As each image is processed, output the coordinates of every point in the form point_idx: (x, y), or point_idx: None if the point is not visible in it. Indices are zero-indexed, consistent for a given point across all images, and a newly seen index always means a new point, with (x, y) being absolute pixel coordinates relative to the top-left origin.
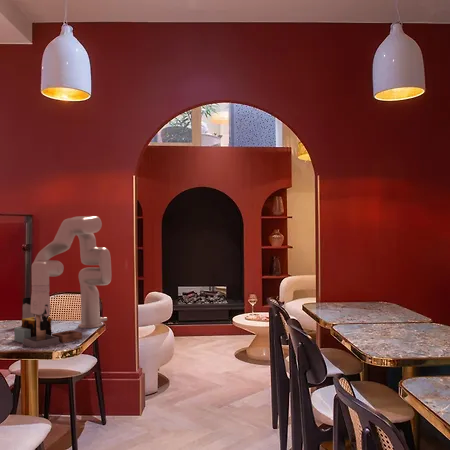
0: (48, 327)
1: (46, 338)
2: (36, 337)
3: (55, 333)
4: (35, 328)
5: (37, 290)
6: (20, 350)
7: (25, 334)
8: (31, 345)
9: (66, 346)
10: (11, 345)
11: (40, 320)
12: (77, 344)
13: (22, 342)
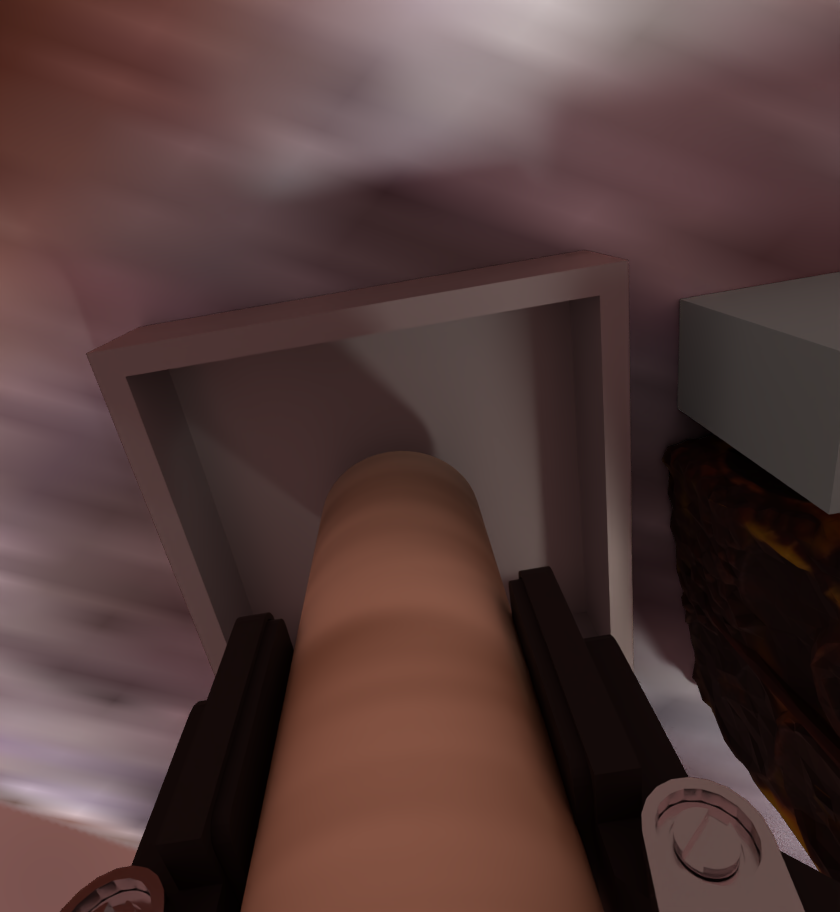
0: (804, 806)
1: (580, 625)
2: (420, 474)
3: None
4: (521, 577)
5: None
6: (120, 29)
7: (774, 357)
8: (278, 306)
9: (25, 686)
10: (730, 35)
11: (246, 900)
12: (76, 795)
13: (758, 287)
